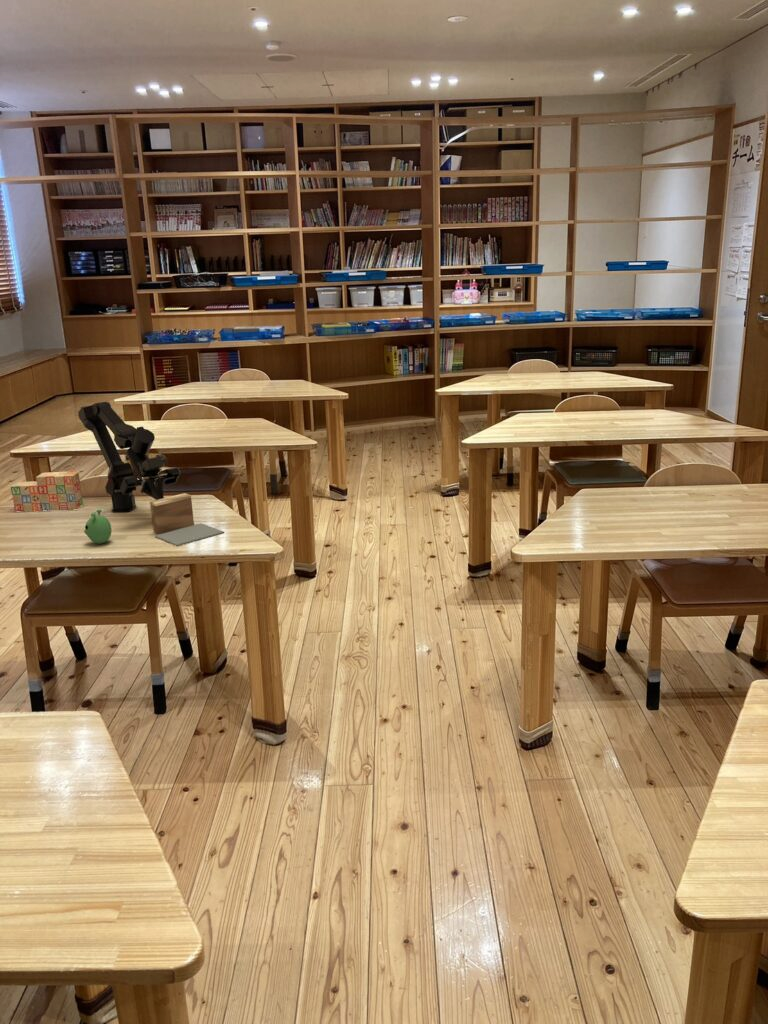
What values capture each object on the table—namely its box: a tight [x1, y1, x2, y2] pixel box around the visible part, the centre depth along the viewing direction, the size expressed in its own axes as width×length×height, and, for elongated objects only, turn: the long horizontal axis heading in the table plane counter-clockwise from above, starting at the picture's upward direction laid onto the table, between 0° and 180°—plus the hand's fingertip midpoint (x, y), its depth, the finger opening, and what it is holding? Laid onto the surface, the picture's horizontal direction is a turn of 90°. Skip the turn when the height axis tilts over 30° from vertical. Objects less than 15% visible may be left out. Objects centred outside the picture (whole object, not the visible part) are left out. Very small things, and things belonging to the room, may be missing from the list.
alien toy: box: [83, 509, 112, 545], centre depth 237 cm, size 7×8×10 cm
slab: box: [149, 492, 195, 535], centre depth 248 cm, size 4×12×10 cm, turn 134°
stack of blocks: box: [10, 471, 84, 512], centre depth 275 cm, size 21×6×12 cm, turn 91°
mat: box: [154, 522, 225, 547], centre depth 243 cm, size 13×16×1 cm
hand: (162, 502), depth 251 cm, fingers closed
